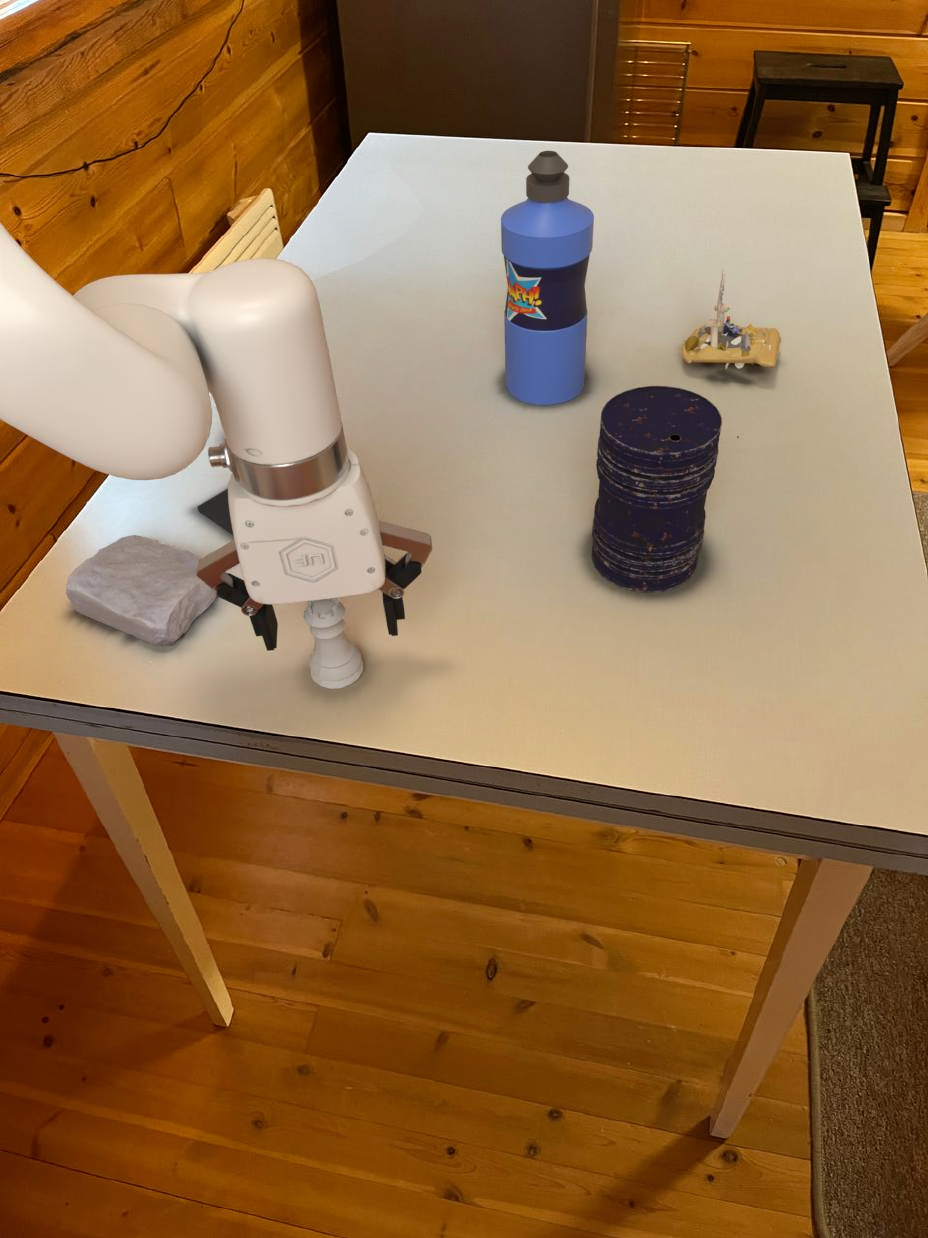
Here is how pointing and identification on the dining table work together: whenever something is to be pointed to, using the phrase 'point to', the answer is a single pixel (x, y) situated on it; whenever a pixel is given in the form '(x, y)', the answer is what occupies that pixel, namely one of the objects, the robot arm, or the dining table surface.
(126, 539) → the stone block
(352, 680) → the rook chess piece
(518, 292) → the water bottle
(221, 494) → the mat
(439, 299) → the dining table surface
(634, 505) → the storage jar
